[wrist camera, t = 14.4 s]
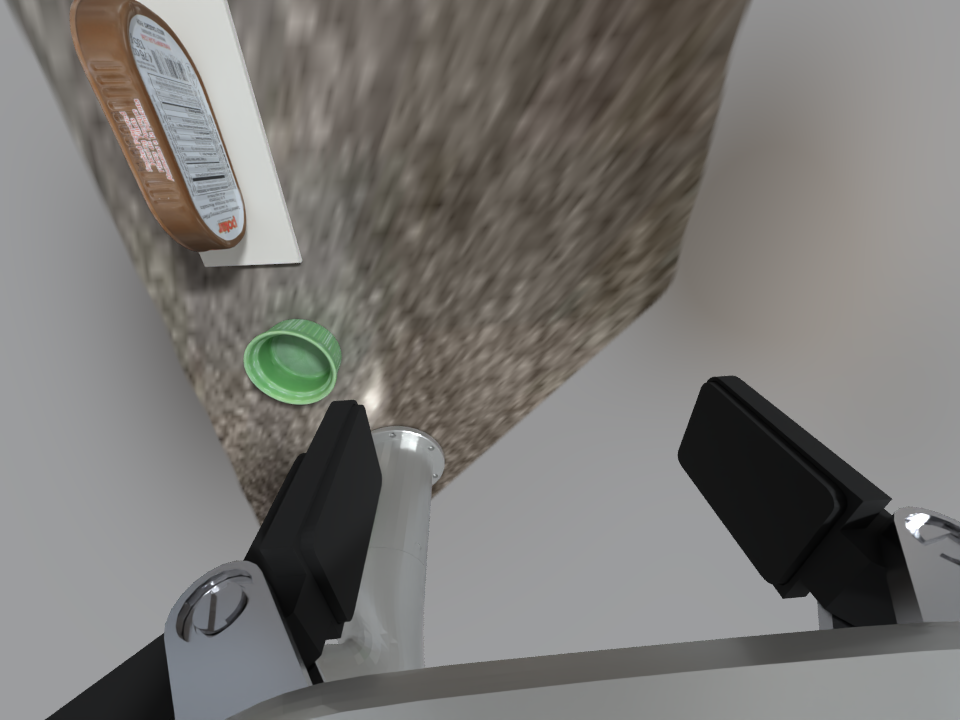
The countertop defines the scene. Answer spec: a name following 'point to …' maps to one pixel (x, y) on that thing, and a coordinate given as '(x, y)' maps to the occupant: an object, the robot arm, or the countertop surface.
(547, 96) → the countertop surface
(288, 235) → the mat
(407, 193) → the countertop surface
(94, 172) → the countertop surface
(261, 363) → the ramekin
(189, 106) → the tin
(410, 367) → the countertop surface
